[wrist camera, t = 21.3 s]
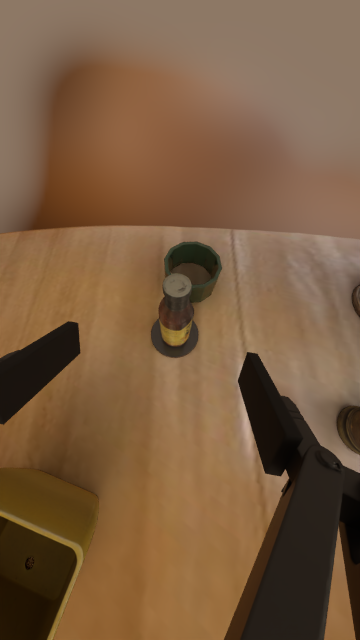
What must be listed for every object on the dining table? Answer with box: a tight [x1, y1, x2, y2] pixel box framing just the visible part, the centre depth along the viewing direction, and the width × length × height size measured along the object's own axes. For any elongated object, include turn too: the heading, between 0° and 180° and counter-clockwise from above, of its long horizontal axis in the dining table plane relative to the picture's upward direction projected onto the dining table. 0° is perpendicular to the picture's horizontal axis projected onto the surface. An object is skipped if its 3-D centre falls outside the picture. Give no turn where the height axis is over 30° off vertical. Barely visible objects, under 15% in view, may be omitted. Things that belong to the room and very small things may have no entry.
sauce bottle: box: [159, 273, 194, 347], centre depth 34 cm, size 6×6×20 cm
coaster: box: [151, 318, 198, 358], centre depth 44 cm, size 11×11×1 cm
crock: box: [164, 242, 222, 303], centre depth 47 cm, size 13×13×7 cm
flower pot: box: [0, 468, 99, 640], centre depth 23 cm, size 19×19×17 cm
